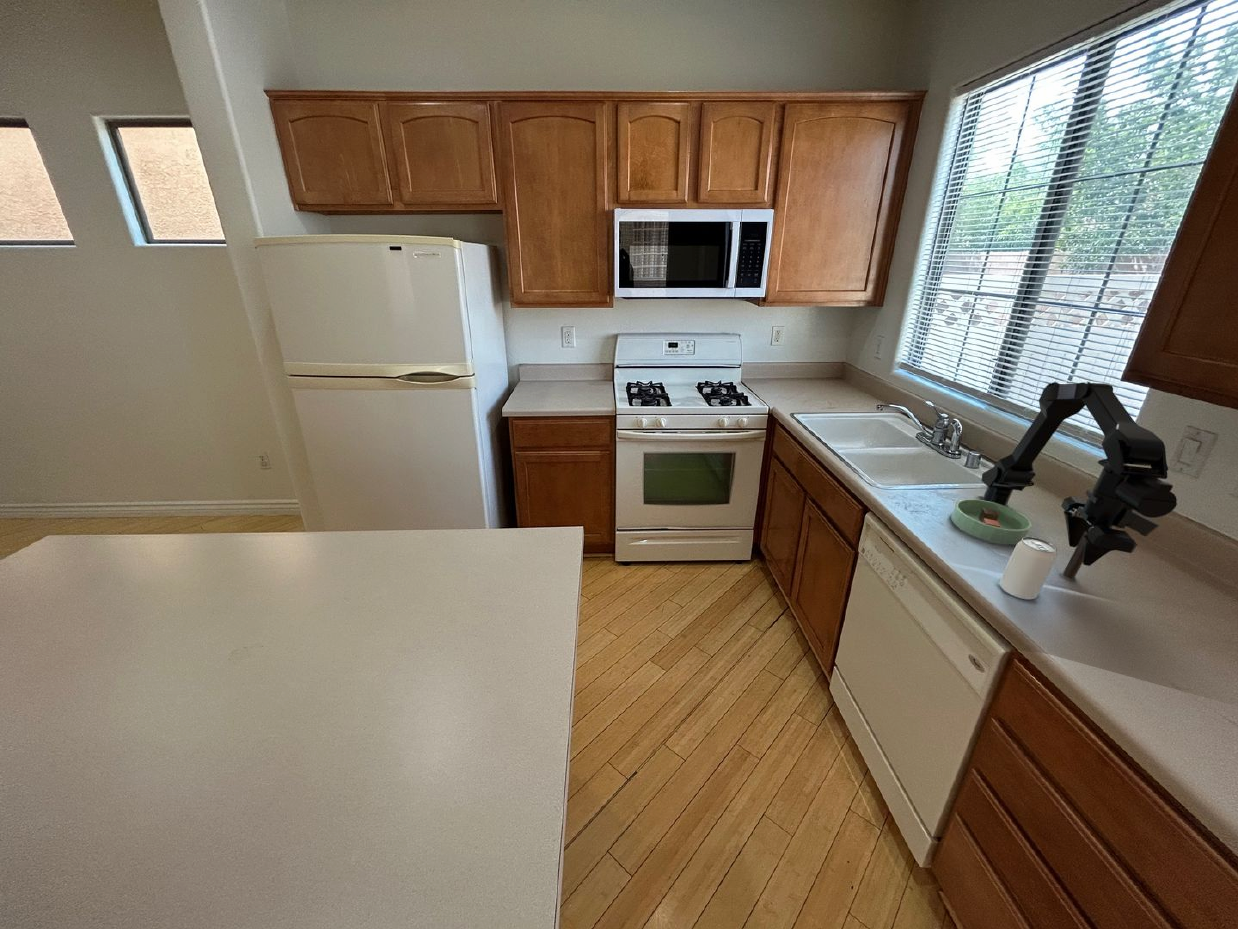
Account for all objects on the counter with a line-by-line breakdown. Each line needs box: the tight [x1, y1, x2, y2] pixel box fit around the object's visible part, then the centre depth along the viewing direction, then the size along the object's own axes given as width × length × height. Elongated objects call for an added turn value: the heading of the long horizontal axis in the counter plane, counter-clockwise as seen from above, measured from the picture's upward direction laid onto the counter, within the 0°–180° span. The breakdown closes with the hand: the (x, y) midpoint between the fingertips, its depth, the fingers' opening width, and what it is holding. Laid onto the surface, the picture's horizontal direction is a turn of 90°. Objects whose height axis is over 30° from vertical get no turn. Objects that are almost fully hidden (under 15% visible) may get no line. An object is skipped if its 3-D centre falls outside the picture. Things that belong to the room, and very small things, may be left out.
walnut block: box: [979, 508, 999, 522], centre depth 127 cm, size 3×3×3 cm
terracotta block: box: [982, 518, 1000, 528], centre depth 122 cm, size 3×3×3 cm
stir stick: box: [1062, 530, 1089, 579], centre depth 104 cm, size 2×2×12 cm
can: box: [999, 536, 1058, 601], centre depth 100 cm, size 6×6×12 cm
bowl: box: [950, 498, 1033, 545], centre depth 124 cm, size 16×16×4 cm
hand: (1078, 555), depth 104 cm, fingers open, 7 cm apart
